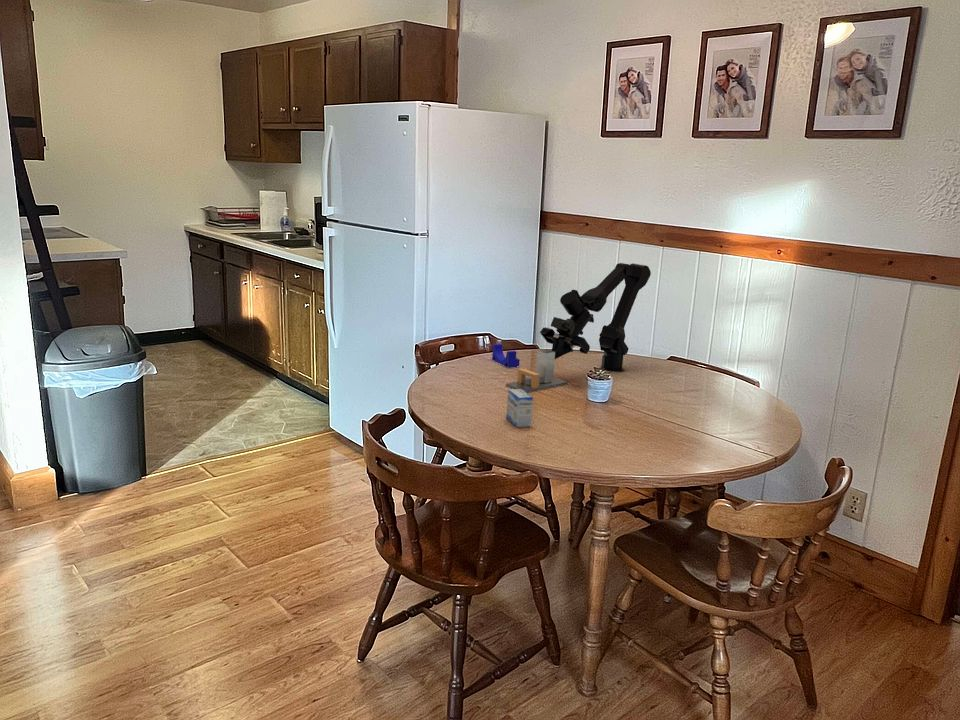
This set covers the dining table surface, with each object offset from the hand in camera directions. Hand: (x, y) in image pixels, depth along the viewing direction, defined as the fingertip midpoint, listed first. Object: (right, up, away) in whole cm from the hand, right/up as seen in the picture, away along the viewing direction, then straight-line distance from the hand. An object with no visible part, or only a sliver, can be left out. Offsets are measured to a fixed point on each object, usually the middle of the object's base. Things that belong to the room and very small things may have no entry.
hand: (550, 359), depth 247 cm
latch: (-4, -7, -2) cm, 9 cm away
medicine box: (-13, -18, -37) cm, 43 cm away
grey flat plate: (-5, -8, -2) cm, 10 cm away
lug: (-8, -8, -4) cm, 12 cm away
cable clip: (-14, -2, +23) cm, 27 cm away
